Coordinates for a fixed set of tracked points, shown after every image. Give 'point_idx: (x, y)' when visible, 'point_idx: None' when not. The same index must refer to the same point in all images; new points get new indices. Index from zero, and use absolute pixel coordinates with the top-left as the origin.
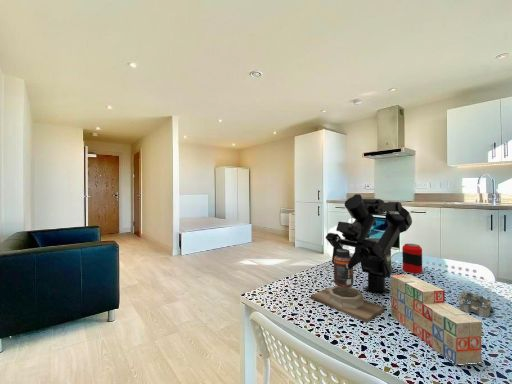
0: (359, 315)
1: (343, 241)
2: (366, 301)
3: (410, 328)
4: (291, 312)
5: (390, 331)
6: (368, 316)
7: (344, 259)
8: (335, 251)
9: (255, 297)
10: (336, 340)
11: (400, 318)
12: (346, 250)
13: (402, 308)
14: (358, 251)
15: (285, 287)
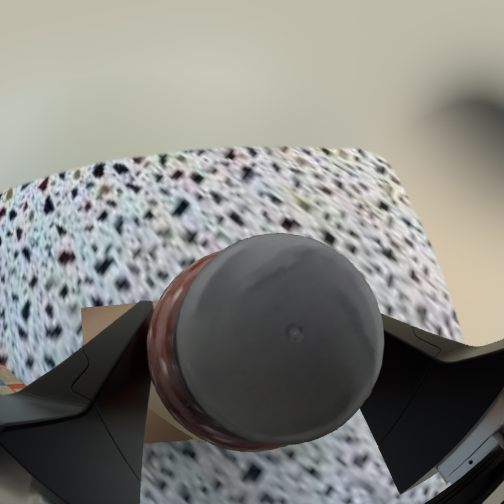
0: (107, 310)
1: (487, 488)
2: (168, 436)
3: (6, 370)
4: (258, 174)
5: (31, 324)
6: (86, 330)
7: (180, 278)
8: (400, 335)
9: (365, 162)
10: (98, 177)
11: None
12: (241, 369)
13: (3, 392)
14: (11, 396)
15: (406, 266)
